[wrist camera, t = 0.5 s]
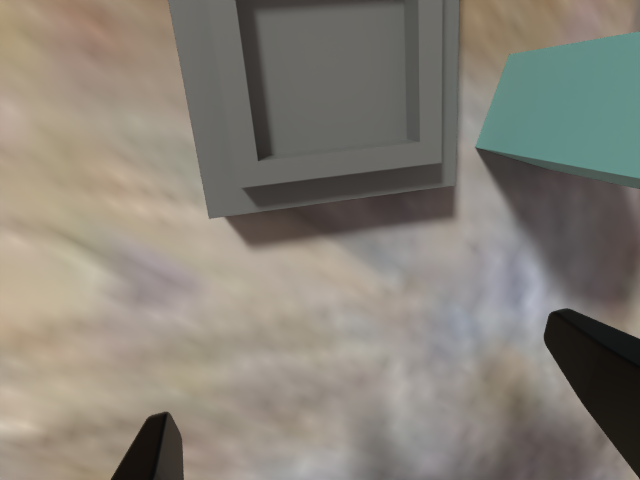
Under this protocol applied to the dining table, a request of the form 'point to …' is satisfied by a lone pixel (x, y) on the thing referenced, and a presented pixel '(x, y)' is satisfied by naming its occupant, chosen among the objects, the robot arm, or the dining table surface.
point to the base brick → (318, 98)
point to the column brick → (571, 109)
